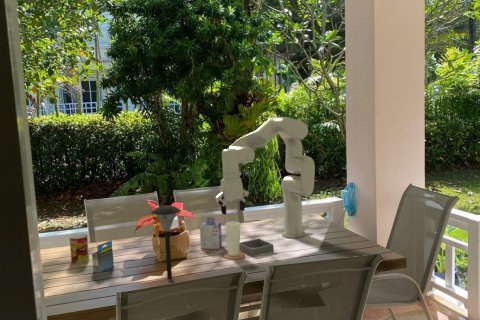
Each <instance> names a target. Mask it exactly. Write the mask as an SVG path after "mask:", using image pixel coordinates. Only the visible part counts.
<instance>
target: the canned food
mask: <svg viewBox="0 0 480 320" xmlns="http://www.w3.org/2000/svg"><path fill="white" fill-rule="evenodd" d="M69 247H70V258H71V259H70V261H71V263H72V264H76V265H78V264H86V263H88V262H89V261H90V253H89V251H90V250H89V239H88V234H87V233H76V234H72V235H70V236H69Z"/></svg>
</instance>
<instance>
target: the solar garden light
mask: <svg viewBox="0 0 480 320" xmlns="http://www.w3.org/2000/svg"><path fill="white" fill-rule="evenodd" d="M180 212H181V209H180V208H178V207H176V206H174V205H169V204H167V205H159V206H157V207H156V208H154V209H153V210H152V211H150V214H152V215H156V218H157V219H158V221H159V223H160V225H161V226H162V229H163V230H164V242H165V245H164V246H165V258H166V262H165V263H166V274H167V275H166V277H167V279H171V278H173V275H172V274H173V273H172V257H171V253H172V252H171V240H170V239H171V237H170V231H171V228H172V224H173V222H174V220H175V217H176V215H177V214H178V213H180Z"/></svg>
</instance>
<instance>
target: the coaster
mask: <svg viewBox="0 0 480 320" xmlns="http://www.w3.org/2000/svg"><path fill="white" fill-rule="evenodd" d="M245 257H246V254H245V253H243V252H241V251H239V255H237V256H230V255H228V251H227V252H225V253H223V258H224V259H227V260H241V259H242V258H243V259H244V258H245Z"/></svg>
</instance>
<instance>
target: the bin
mask: <svg viewBox="0 0 480 320" xmlns="http://www.w3.org/2000/svg"><path fill="white" fill-rule="evenodd" d="M239 251H240V252H243V253H245V255H247V256H250V257H256V256H260V255H265V254H269V253H274V244H273V243H271V242H268V241H266V240H264V239H262V238H255V239H250V240H246V241H241V242H240V247H239Z"/></svg>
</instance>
